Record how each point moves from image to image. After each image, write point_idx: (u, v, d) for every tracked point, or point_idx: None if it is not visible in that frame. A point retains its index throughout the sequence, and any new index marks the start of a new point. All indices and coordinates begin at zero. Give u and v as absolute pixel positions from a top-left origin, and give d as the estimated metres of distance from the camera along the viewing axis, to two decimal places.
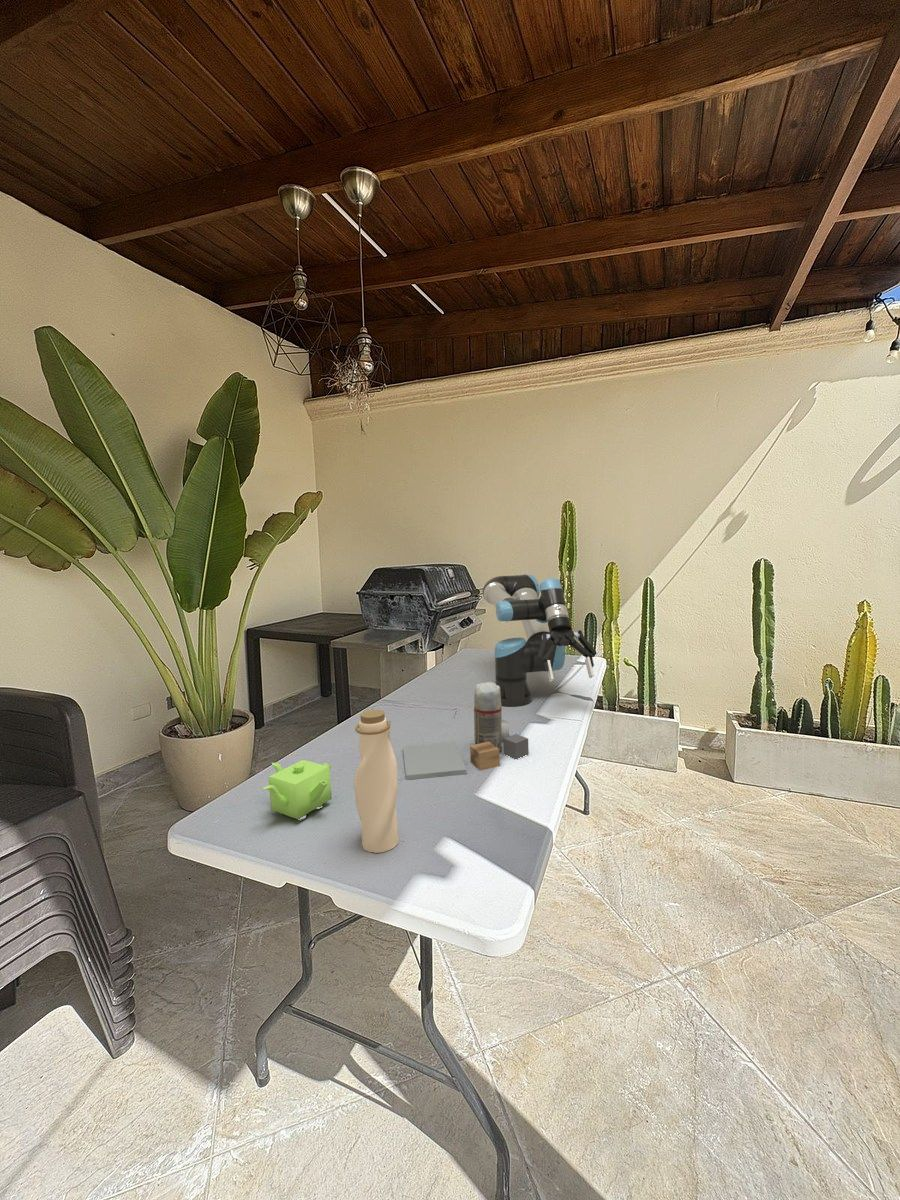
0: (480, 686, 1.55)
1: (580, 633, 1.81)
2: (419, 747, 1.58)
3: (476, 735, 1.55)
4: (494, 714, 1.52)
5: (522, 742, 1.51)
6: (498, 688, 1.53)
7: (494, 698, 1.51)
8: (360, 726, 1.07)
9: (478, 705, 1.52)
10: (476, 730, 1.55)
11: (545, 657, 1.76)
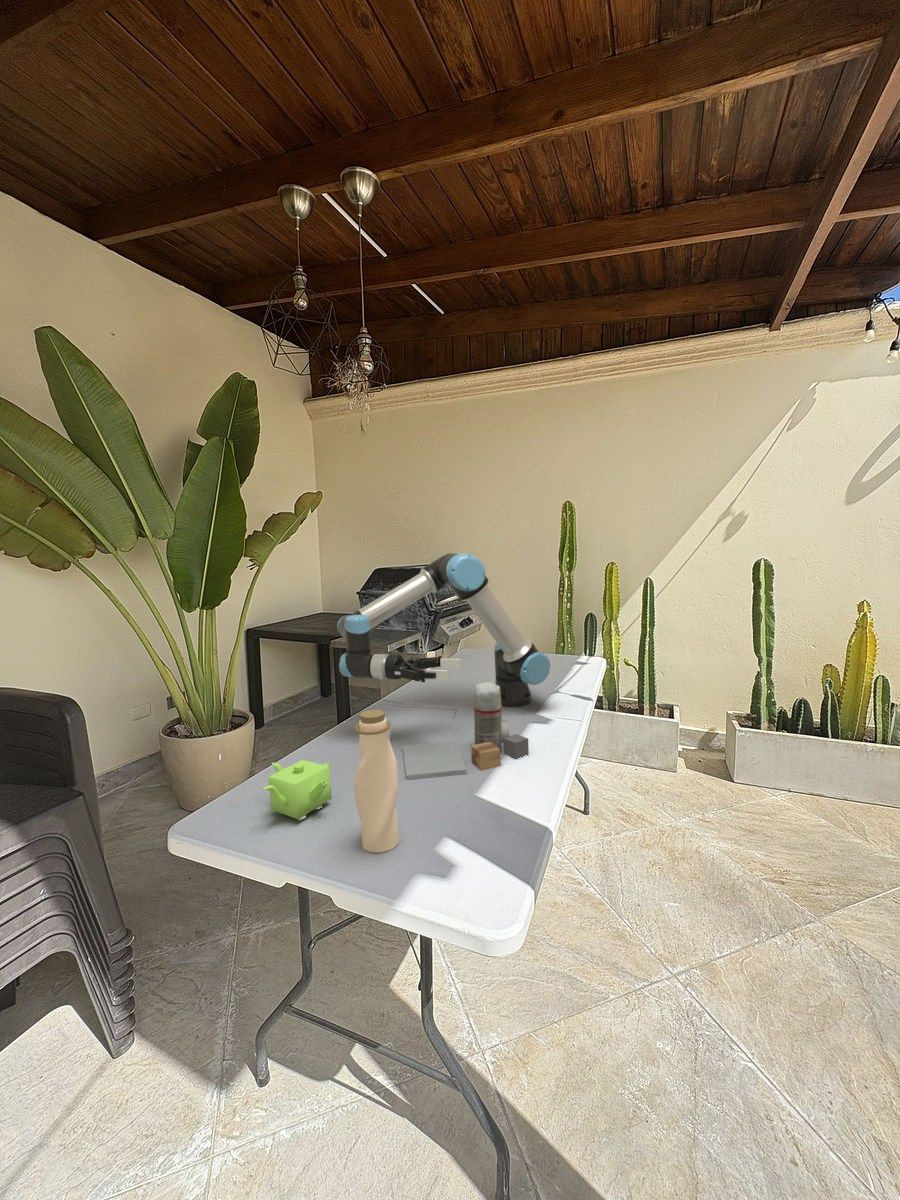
0: (480, 686, 1.55)
1: None
2: (419, 747, 1.58)
3: (476, 735, 1.55)
4: (494, 714, 1.52)
5: (522, 742, 1.51)
6: (498, 688, 1.53)
7: (494, 698, 1.51)
8: (360, 726, 1.07)
9: (478, 705, 1.52)
10: (476, 730, 1.55)
11: None
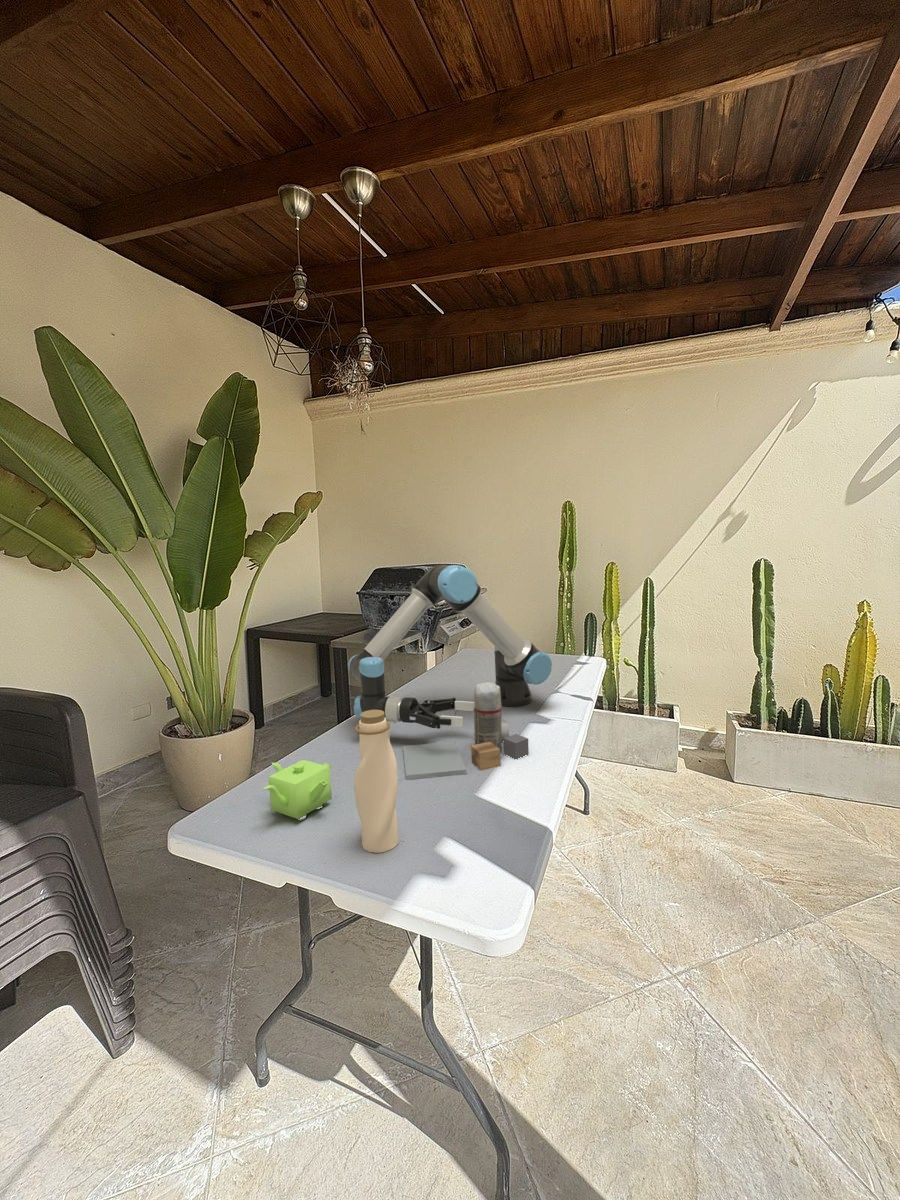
0: (480, 686, 1.55)
1: None
2: (419, 747, 1.58)
3: (476, 735, 1.55)
4: (494, 714, 1.52)
5: (522, 742, 1.51)
6: (498, 688, 1.53)
7: (494, 698, 1.51)
8: (360, 726, 1.07)
9: (478, 705, 1.52)
10: (476, 730, 1.55)
11: None
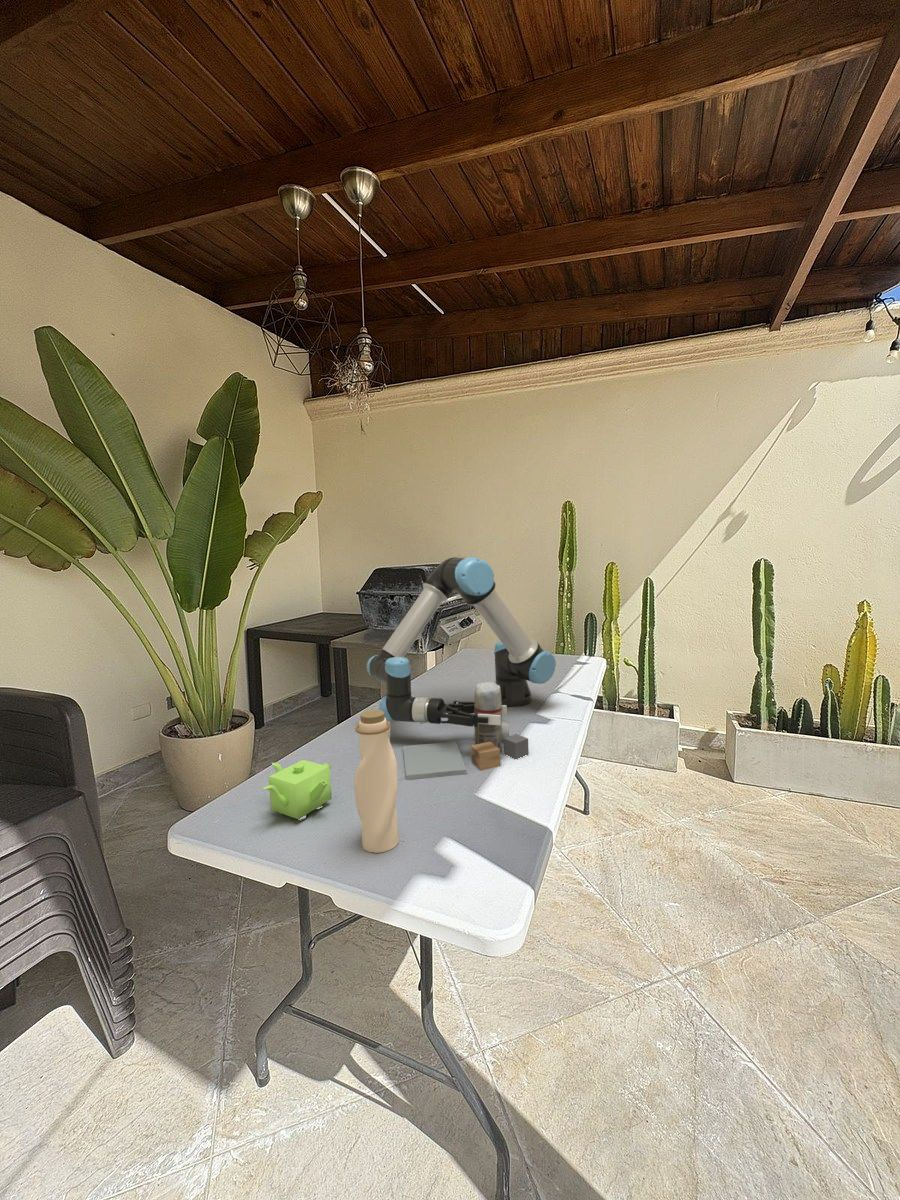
0: (480, 686, 1.55)
1: None
2: (419, 747, 1.58)
3: (476, 735, 1.55)
4: (495, 714, 1.52)
5: (522, 742, 1.51)
6: (498, 688, 1.53)
7: (495, 697, 1.51)
8: (360, 726, 1.07)
9: (478, 704, 1.53)
10: (476, 730, 1.55)
11: None
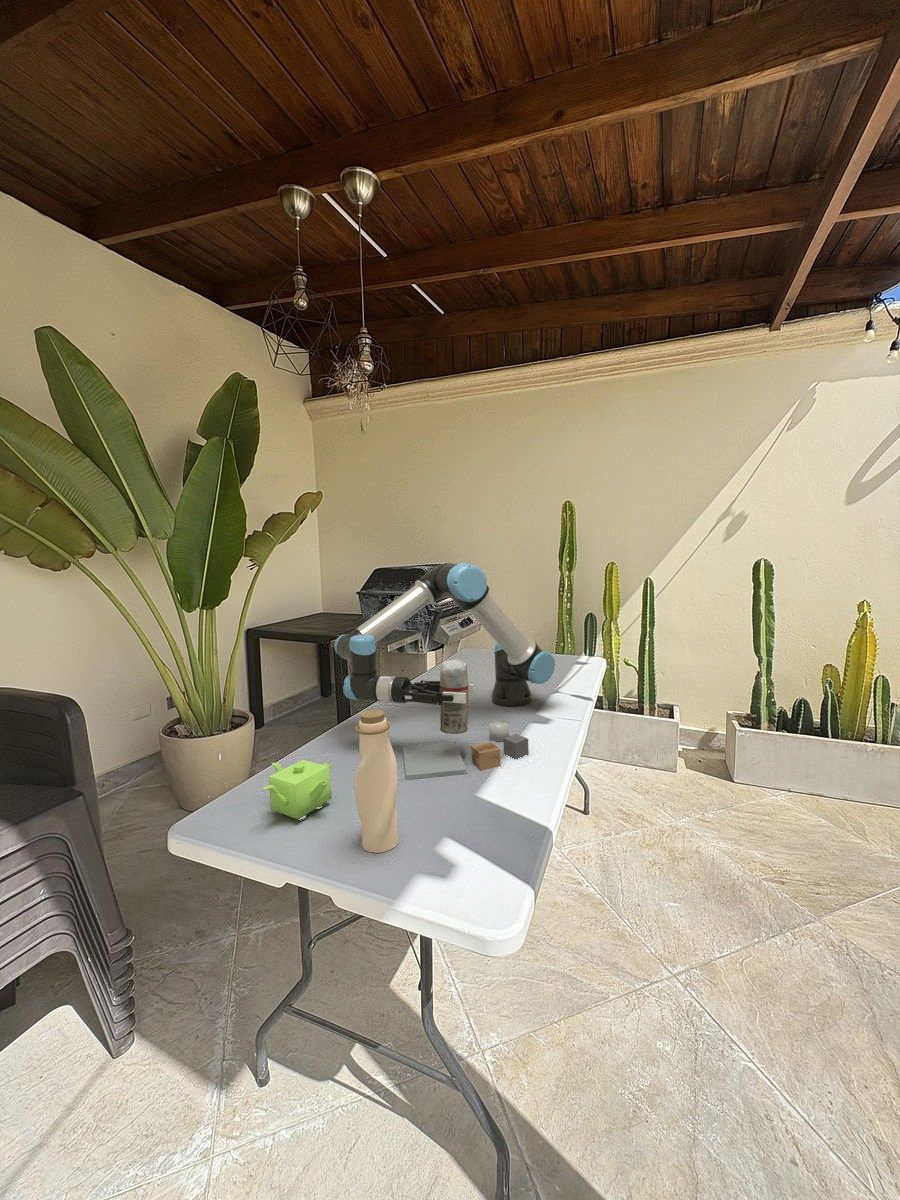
0: (446, 663, 1.50)
1: None
2: (419, 747, 1.58)
3: (441, 714, 1.50)
4: (460, 692, 1.47)
5: (522, 742, 1.51)
6: (464, 665, 1.48)
7: (460, 675, 1.47)
8: (360, 726, 1.07)
9: (443, 682, 1.48)
10: (441, 708, 1.50)
11: None
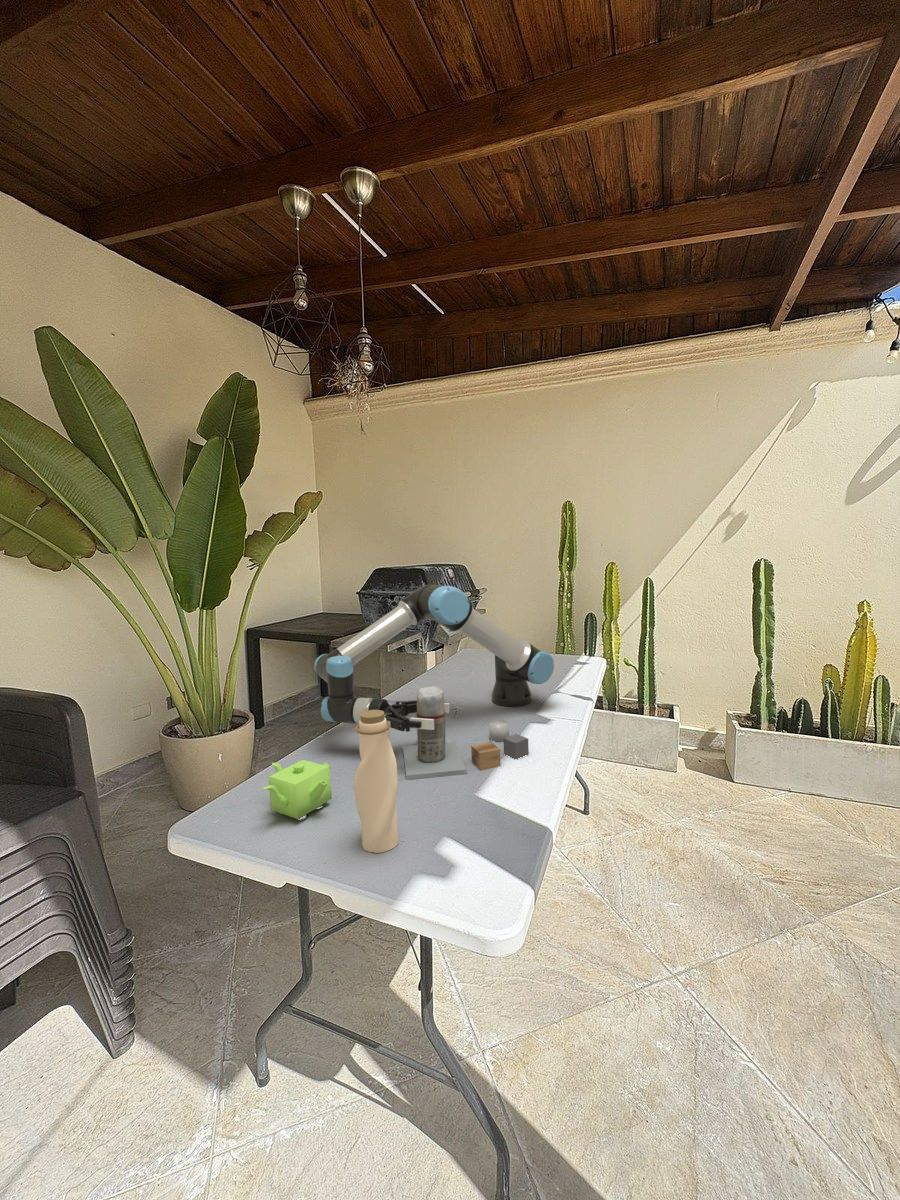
0: (423, 690, 1.48)
1: None
2: None
3: (418, 741, 1.49)
4: (437, 720, 1.46)
5: (522, 742, 1.51)
6: (441, 693, 1.47)
7: (436, 703, 1.45)
8: (360, 726, 1.07)
9: (419, 710, 1.46)
10: (418, 736, 1.48)
11: None
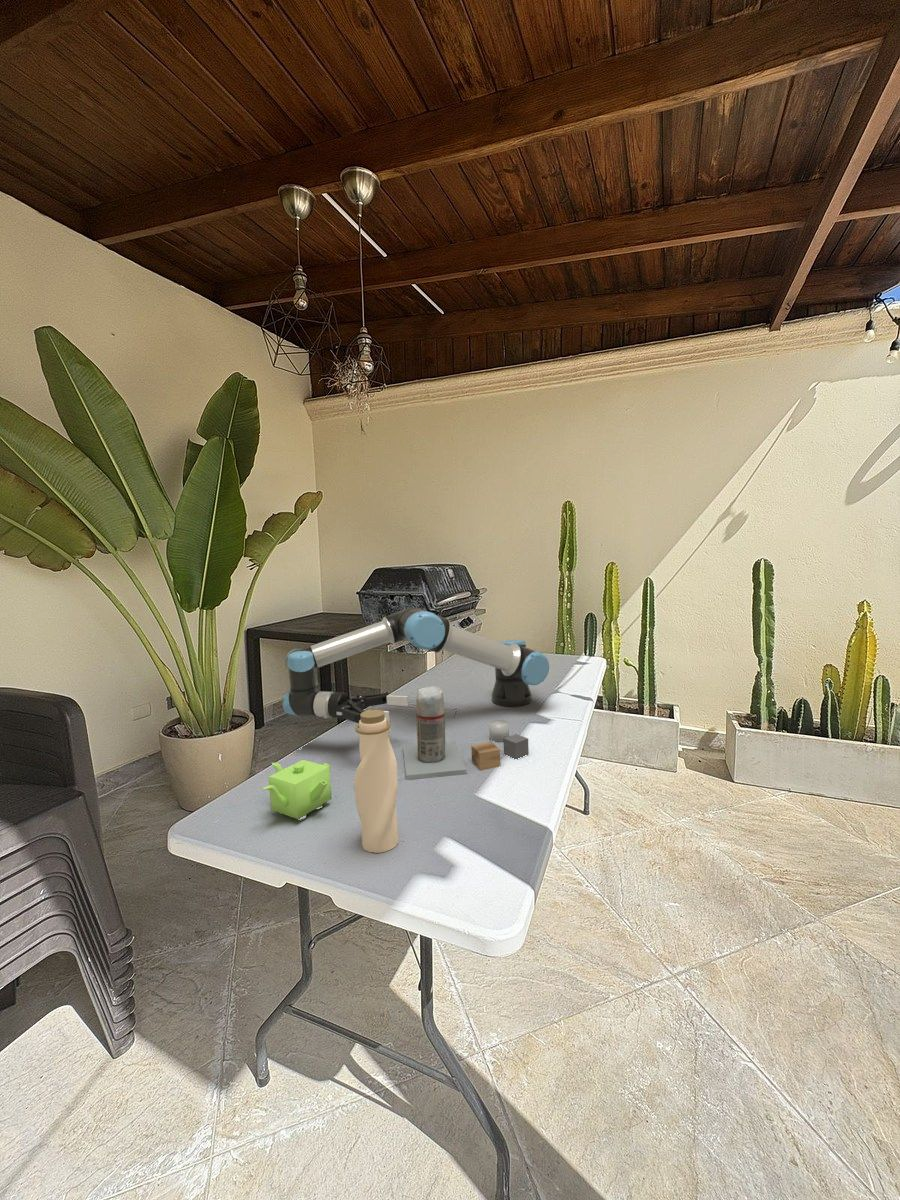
0: (422, 691, 1.48)
1: None
2: None
3: (418, 742, 1.48)
4: (436, 720, 1.46)
5: (522, 742, 1.51)
6: (440, 693, 1.47)
7: (436, 703, 1.45)
8: (360, 726, 1.07)
9: (419, 710, 1.46)
10: (418, 736, 1.48)
11: None
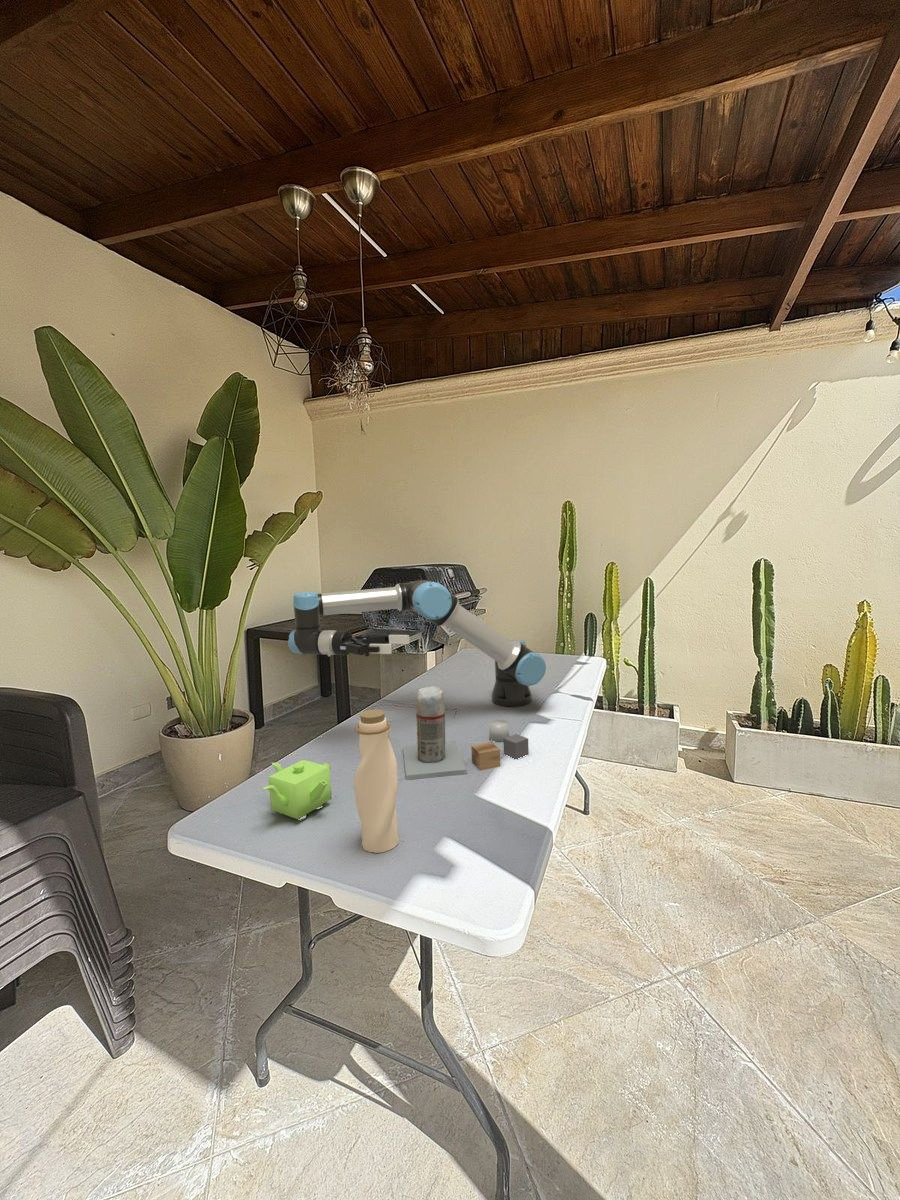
0: (422, 691, 1.48)
1: None
2: None
3: (418, 742, 1.48)
4: (436, 720, 1.46)
5: (522, 742, 1.51)
6: (440, 693, 1.47)
7: (436, 703, 1.45)
8: (360, 726, 1.07)
9: (419, 710, 1.46)
10: (418, 736, 1.48)
11: (387, 642, 1.67)
